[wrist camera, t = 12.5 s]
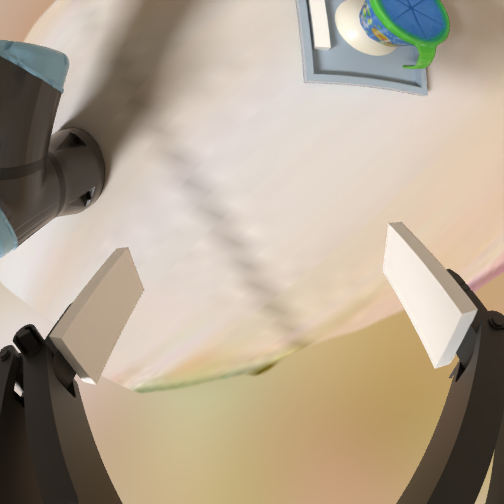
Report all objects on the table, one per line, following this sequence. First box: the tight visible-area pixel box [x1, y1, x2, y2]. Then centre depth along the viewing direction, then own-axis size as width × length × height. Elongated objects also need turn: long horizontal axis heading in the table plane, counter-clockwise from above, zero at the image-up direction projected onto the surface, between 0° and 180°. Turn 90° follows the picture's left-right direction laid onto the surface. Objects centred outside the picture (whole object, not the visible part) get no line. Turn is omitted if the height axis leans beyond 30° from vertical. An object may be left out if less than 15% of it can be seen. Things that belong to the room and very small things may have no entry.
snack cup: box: [359, 0, 450, 69], centre depth 19 cm, size 16×11×10 cm
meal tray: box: [296, 0, 428, 96], centre depth 24 cm, size 18×20×3 cm
